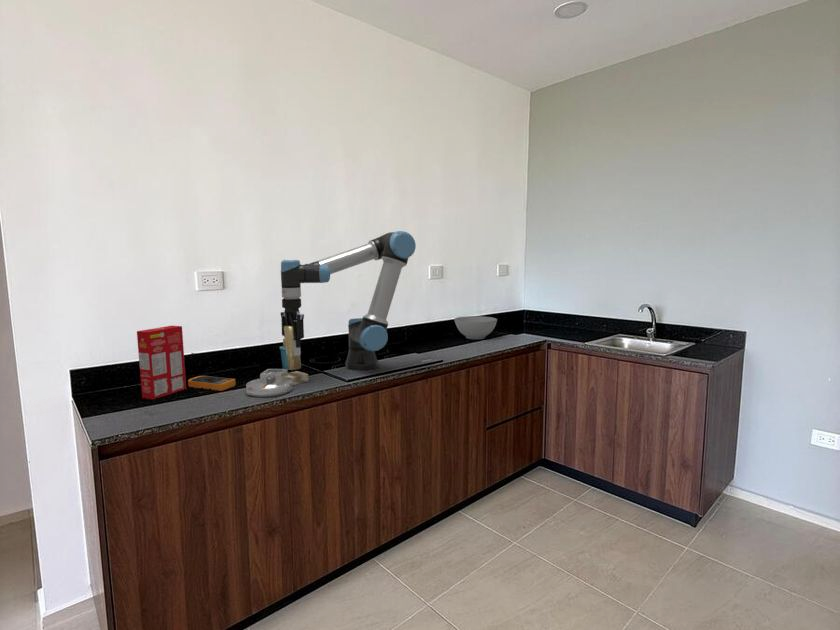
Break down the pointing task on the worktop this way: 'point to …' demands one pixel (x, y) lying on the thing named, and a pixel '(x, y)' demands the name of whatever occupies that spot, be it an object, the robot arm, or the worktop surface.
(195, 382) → the multimeter
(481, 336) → the decorative bowl
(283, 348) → the cup
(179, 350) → the food packaging
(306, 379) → the key block
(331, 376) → the worktop surface
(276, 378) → the grey flat rounded piece
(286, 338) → the tan cylinder
